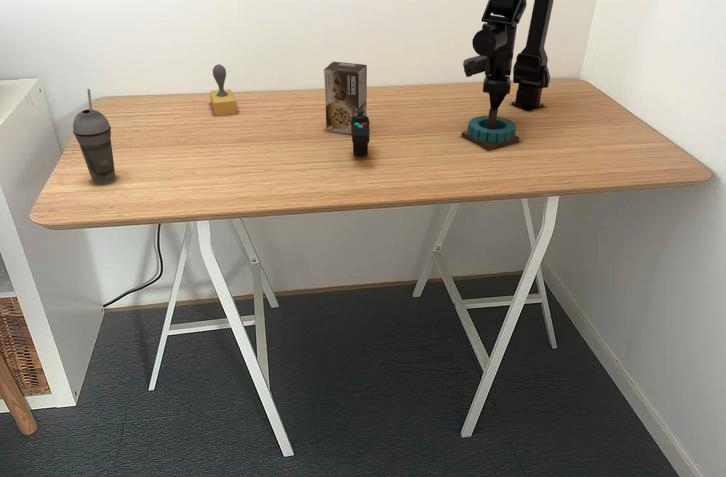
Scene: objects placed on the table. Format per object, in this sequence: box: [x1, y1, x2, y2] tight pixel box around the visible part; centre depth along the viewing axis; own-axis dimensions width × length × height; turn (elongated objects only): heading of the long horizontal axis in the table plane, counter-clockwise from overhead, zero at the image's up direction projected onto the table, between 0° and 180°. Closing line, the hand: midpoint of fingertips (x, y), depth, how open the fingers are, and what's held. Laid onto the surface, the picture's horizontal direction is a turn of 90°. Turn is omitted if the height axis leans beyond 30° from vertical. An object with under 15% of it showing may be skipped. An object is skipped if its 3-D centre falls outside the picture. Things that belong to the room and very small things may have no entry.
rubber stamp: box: [209, 63, 238, 116], centre depth 166 cm, size 10×6×12 cm, turn 18°
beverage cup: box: [72, 88, 116, 186], centre depth 127 cm, size 7×7×20 cm
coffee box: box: [323, 61, 368, 135], centre depth 153 cm, size 9×6×16 cm
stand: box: [460, 107, 521, 151], centre depth 151 cm, size 10×10×8 cm
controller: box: [350, 109, 371, 158], centre depth 141 cm, size 4×12×10 cm, turn 1°
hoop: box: [467, 115, 517, 143], centre depth 152 cm, size 11×11×2 cm
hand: (493, 109), depth 153 cm, fingers open, 4 cm apart
